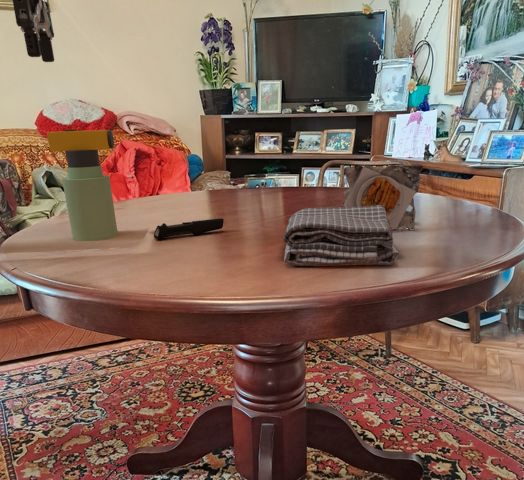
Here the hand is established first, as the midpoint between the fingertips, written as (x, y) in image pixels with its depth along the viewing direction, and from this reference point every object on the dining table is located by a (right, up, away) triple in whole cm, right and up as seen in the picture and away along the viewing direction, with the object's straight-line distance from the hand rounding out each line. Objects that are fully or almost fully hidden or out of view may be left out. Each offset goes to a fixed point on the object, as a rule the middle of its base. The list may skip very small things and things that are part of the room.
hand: (42, 59), depth 97 cm
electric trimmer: (+26, -31, +13) cm, 43 cm away
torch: (+7, -17, +2) cm, 18 cm away
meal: (+67, -31, +10) cm, 74 cm away
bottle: (+8, -33, +9) cm, 35 cm away
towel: (+55, -40, -9) cm, 69 cm away
